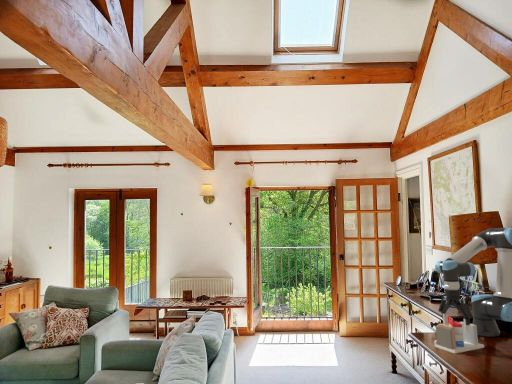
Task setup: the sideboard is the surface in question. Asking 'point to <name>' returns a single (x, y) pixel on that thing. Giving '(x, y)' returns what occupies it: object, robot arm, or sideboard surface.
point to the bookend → (470, 334)
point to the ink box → (457, 332)
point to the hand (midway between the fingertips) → (456, 328)
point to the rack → (451, 340)
